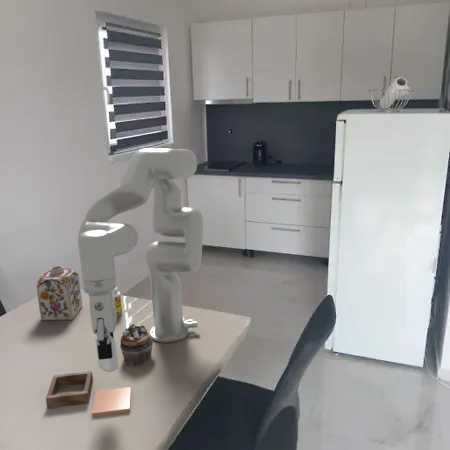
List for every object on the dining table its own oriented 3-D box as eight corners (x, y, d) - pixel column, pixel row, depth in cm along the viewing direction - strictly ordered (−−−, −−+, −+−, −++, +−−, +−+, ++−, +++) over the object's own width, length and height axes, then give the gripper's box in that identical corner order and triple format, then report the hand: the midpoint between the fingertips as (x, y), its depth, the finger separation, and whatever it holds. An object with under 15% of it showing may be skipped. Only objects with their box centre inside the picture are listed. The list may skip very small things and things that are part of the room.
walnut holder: (93, 380, 123) (91, 370, 122) (88, 403, 113) (87, 393, 112) (55, 385, 121) (53, 375, 120) (47, 408, 111) (45, 398, 111)
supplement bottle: (111, 319, 158) (108, 292, 156) (103, 314, 162) (100, 288, 160) (125, 313, 162) (122, 287, 159) (117, 309, 166) (114, 283, 163)
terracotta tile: (131, 389, 118) (130, 386, 118) (129, 411, 109) (129, 408, 109) (96, 394, 117) (95, 390, 116) (92, 416, 108) (91, 413, 108)
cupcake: (115, 365, 130) (112, 334, 127) (130, 348, 139) (128, 318, 136) (145, 369, 127) (142, 337, 125) (159, 351, 136) (157, 321, 134)
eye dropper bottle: (100, 375, 107) (95, 330, 104) (97, 363, 112) (93, 320, 109) (119, 371, 108) (114, 326, 105) (115, 359, 114) (111, 316, 110)
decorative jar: (72, 320, 158) (66, 273, 153) (40, 321, 158) (33, 273, 154) (83, 306, 170) (78, 261, 165) (53, 306, 170) (46, 262, 165)
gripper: (113, 295, 97) (120, 369, 102) (118, 269, 113) (124, 333, 118) (77, 298, 96) (86, 373, 100) (87, 271, 112) (94, 336, 117)
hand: (106, 351), depth 109 cm, fingers closed on eye dropper bottle, 5 cm apart
